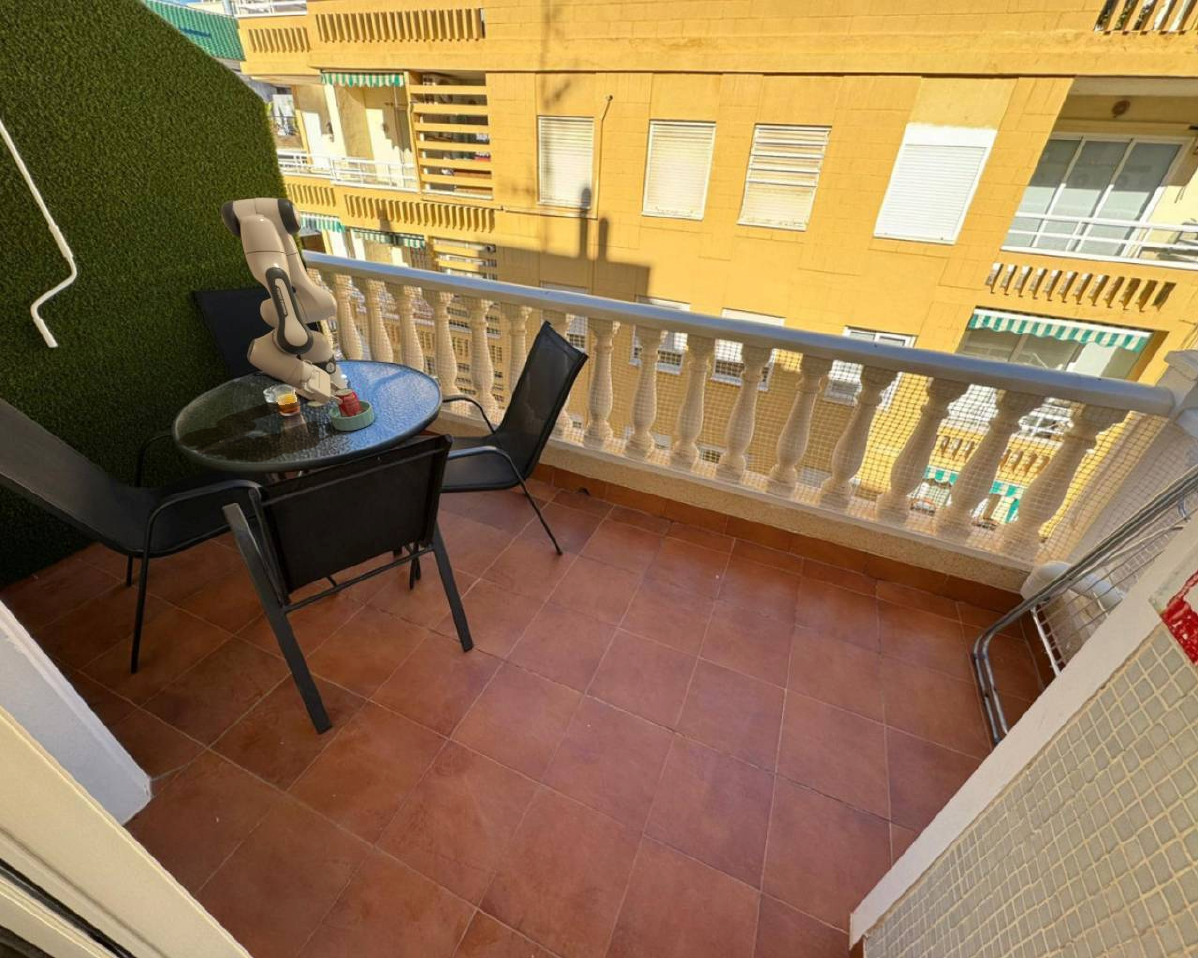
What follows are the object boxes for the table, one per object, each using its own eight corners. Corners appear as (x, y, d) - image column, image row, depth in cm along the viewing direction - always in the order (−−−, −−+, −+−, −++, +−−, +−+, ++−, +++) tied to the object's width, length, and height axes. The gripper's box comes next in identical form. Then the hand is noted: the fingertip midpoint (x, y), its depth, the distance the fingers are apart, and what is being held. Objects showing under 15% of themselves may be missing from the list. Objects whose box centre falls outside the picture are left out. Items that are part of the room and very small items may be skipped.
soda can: (347, 417, 186) (337, 387, 179) (367, 416, 187) (357, 386, 180) (341, 426, 181) (330, 396, 174) (361, 425, 181) (351, 395, 174)
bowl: (325, 426, 181) (320, 413, 178) (355, 410, 192) (351, 397, 189) (353, 435, 176) (348, 421, 173) (383, 417, 187) (379, 404, 184)
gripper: (305, 380, 160) (347, 402, 169) (307, 357, 175) (345, 378, 184) (294, 395, 161) (336, 416, 170) (297, 371, 177) (336, 392, 186)
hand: (341, 396), depth 178 cm, fingers open, 8 cm apart
